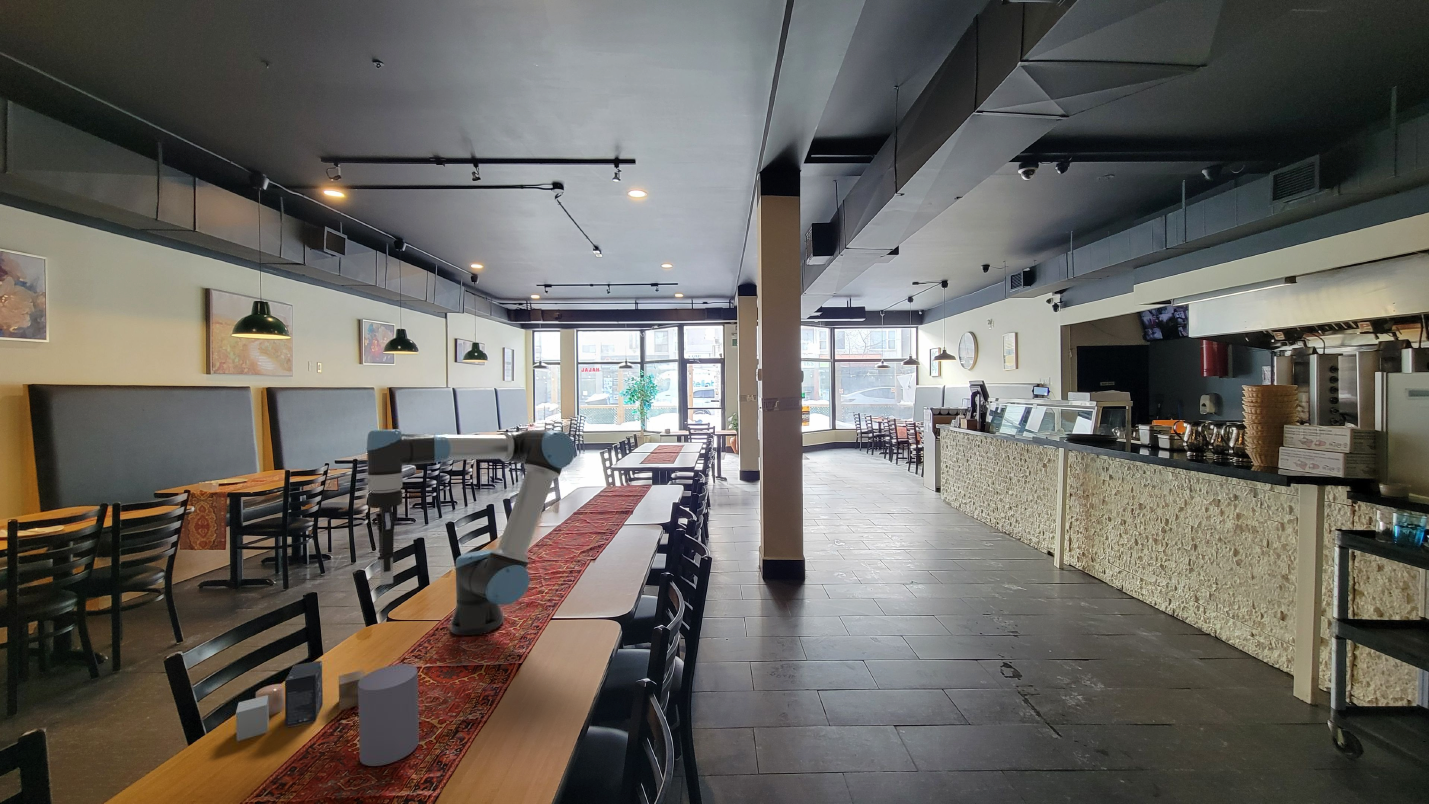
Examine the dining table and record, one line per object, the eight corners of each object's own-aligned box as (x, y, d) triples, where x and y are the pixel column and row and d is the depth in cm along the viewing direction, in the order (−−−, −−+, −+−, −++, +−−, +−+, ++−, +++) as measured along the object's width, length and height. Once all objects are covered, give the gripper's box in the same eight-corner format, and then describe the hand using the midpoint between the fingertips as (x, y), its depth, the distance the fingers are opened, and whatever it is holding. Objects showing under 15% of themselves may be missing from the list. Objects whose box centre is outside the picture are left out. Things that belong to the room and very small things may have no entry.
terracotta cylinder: (288, 704, 129) (288, 682, 129) (276, 716, 124) (275, 693, 124) (264, 706, 128) (264, 685, 128) (251, 718, 124) (250, 696, 123)
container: (404, 765, 106) (402, 688, 106) (348, 769, 106) (346, 691, 105) (427, 733, 117) (426, 662, 117) (376, 736, 116) (375, 665, 116)
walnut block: (364, 694, 133) (363, 669, 133) (365, 703, 129) (364, 677, 129) (339, 701, 130) (338, 676, 130) (339, 710, 126) (339, 684, 126)
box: (316, 721, 122) (315, 673, 122) (284, 728, 119) (283, 680, 119) (323, 704, 129) (322, 659, 129) (293, 710, 127) (292, 664, 126)
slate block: (268, 721, 122) (268, 694, 122) (267, 732, 118) (266, 704, 118) (239, 730, 119) (238, 702, 119) (236, 741, 115) (235, 712, 115)
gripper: (365, 488, 143) (367, 579, 143) (369, 495, 132) (371, 593, 132) (399, 485, 147) (400, 574, 147) (405, 491, 137) (406, 586, 137)
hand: (386, 583), depth 140 cm, fingers closed
